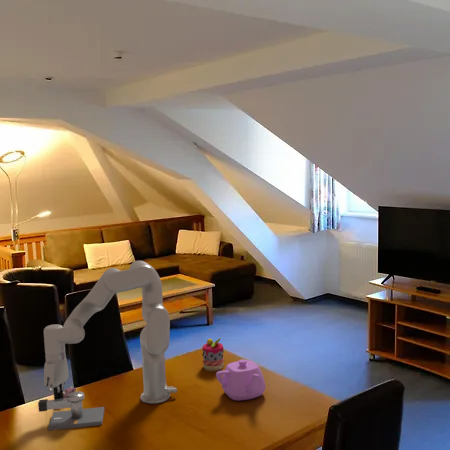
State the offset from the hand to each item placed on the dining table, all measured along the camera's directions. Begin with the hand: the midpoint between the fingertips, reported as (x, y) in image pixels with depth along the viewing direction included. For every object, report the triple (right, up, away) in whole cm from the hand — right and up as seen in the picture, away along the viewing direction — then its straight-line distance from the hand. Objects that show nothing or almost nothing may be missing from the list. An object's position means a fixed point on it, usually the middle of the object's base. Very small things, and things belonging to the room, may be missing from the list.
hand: (58, 400), depth 203 cm
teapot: (+75, -3, +15) cm, 77 cm away
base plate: (+8, -7, -2) cm, 11 cm away
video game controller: (-2, -6, +15) cm, 16 cm away
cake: (+61, 0, +46) cm, 77 cm away
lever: (+3, -6, -3) cm, 7 cm away
